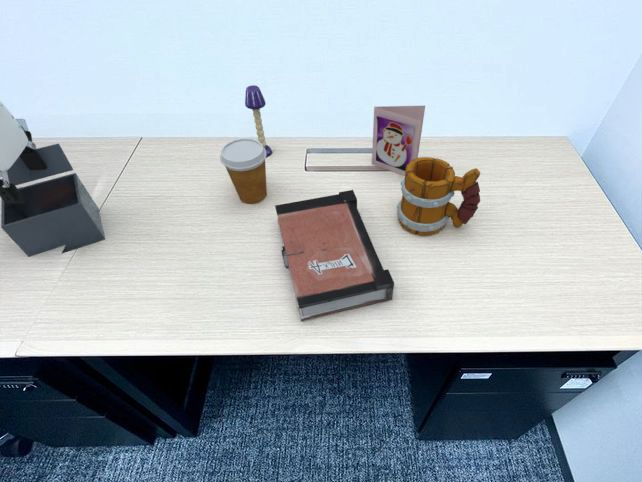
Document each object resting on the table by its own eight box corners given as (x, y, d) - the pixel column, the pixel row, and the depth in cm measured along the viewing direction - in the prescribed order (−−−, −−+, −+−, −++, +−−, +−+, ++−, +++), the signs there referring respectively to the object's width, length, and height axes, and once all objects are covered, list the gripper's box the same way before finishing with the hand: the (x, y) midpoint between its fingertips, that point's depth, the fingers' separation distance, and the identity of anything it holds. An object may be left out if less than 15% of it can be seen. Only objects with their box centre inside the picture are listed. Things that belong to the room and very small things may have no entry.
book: (274, 222, 85) (271, 204, 82) (352, 207, 89) (352, 189, 85) (297, 322, 69) (294, 305, 65) (392, 299, 72) (394, 283, 69)
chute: (33, 262, 78) (1, 227, 70) (31, 228, 84) (1, 192, 76) (105, 239, 82) (81, 203, 74) (98, 208, 88) (75, 172, 81)
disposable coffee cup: (266, 178, 95) (257, 132, 86) (279, 201, 90) (271, 156, 81) (227, 188, 93) (213, 143, 83) (237, 213, 87) (224, 168, 78)
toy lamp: (254, 148, 103) (241, 84, 91) (272, 145, 104) (261, 82, 91) (256, 158, 100) (242, 94, 88) (274, 156, 101) (263, 91, 88)
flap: (-20, 162, 73) (-19, 162, 73) (-2, 189, 76) (-1, 189, 76) (58, 143, 77) (58, 143, 77) (73, 170, 80) (73, 169, 80)
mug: (402, 198, 91) (409, 139, 79) (474, 215, 87) (493, 156, 76) (388, 229, 84) (394, 170, 73) (466, 248, 81) (485, 190, 69)
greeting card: (369, 165, 99) (372, 108, 87) (384, 151, 103) (388, 94, 91) (411, 180, 95) (419, 123, 84) (424, 165, 99) (433, 108, 88)
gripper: (-37, 69, 65) (26, 158, 78) (-103, 126, 54) (-17, 218, 67) (12, 68, 66) (66, 156, 79) (-43, 124, 55) (31, 216, 68)
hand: (28, 185), depth 73 cm, fingers open, 9 cm apart
